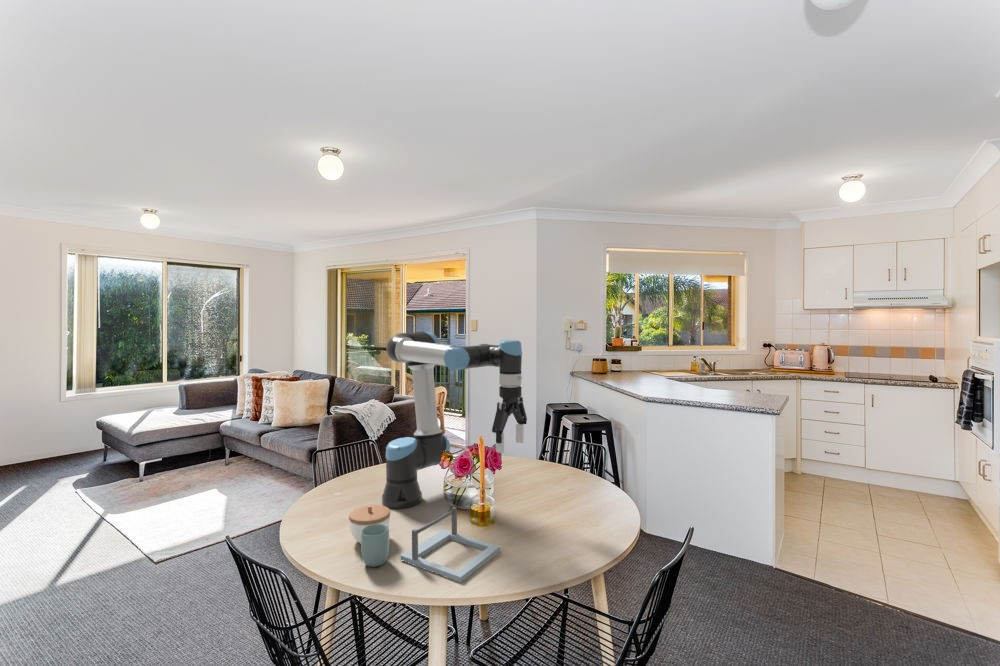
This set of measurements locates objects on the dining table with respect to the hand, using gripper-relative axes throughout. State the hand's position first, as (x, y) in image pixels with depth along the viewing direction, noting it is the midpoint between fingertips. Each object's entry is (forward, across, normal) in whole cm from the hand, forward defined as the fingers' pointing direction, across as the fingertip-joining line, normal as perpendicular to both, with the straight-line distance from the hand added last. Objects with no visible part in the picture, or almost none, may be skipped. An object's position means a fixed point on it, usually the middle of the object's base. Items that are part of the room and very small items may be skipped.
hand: (510, 447), depth 165 cm
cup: (+27, -43, +20) cm, 55 cm away
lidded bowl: (+27, -34, +32) cm, 54 cm away
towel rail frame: (+26, -28, +4) cm, 39 cm away
